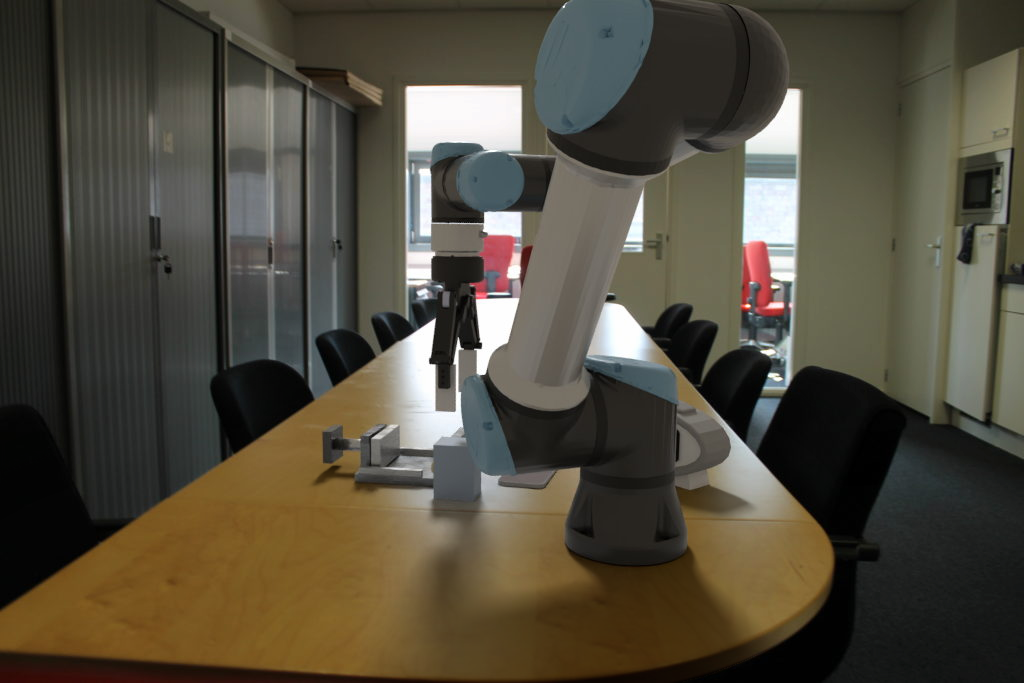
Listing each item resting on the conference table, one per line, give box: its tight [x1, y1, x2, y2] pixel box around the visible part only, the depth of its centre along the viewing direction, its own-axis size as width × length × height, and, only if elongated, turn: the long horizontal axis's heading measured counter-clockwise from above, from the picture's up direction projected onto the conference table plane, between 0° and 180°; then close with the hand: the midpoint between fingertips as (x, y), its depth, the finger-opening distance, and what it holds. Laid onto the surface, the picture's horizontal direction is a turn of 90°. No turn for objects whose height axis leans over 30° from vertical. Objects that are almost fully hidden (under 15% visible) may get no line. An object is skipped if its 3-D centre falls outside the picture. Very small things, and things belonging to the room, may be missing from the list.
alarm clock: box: [675, 398, 732, 491], centre depth 133 cm, size 23×6×13 cm, turn 40°
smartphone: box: [497, 470, 558, 489], centre depth 134 cm, size 7×1×15 cm
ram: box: [321, 423, 401, 467], centre depth 135 cm, size 10×10×5 cm
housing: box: [431, 436, 482, 502], centre depth 122 cm, size 5×7×8 cm
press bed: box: [354, 423, 465, 487], centre depth 134 cm, size 14×15×7 cm
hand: (457, 401), depth 121 cm, fingers open, 13 cm apart
